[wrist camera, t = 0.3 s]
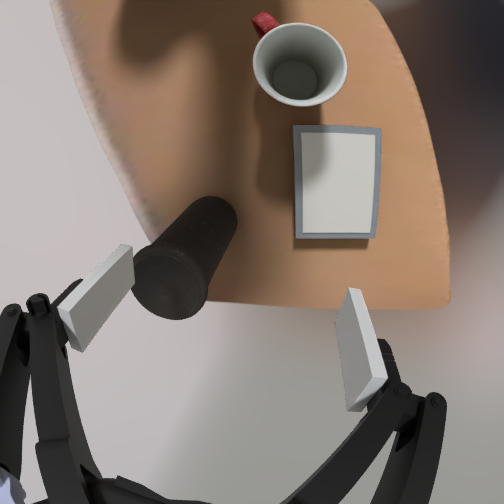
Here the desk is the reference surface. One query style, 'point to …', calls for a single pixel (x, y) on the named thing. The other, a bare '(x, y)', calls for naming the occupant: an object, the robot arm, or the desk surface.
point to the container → (184, 259)
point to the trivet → (336, 181)
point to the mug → (297, 62)
